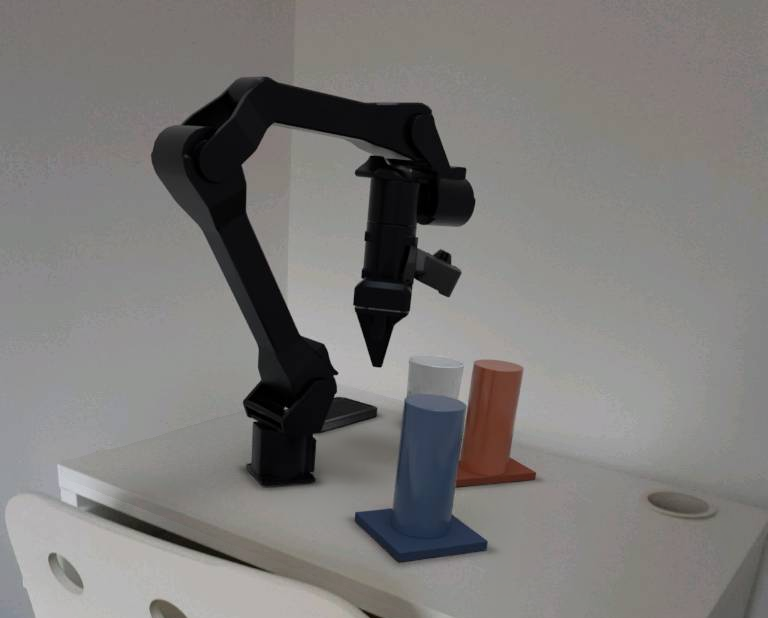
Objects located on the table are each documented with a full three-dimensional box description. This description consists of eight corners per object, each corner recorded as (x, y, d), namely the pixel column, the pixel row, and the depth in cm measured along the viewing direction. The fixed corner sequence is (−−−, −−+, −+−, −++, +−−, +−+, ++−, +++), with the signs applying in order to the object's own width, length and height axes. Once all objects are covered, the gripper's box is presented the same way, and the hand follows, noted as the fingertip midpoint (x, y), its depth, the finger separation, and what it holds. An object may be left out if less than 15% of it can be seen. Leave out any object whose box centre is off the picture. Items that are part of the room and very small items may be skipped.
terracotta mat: (454, 487, 97) (455, 479, 96) (429, 470, 102) (430, 462, 101) (535, 479, 102) (536, 472, 102) (508, 463, 107) (509, 456, 107)
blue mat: (398, 562, 76) (399, 552, 76) (354, 520, 85) (355, 511, 84) (486, 550, 81) (488, 541, 81) (436, 511, 89) (437, 503, 89)
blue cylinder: (408, 541, 79) (423, 412, 74) (380, 517, 83) (393, 394, 79) (460, 535, 81) (478, 410, 77) (430, 511, 86) (446, 393, 81)
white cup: (456, 438, 115) (466, 369, 111) (401, 433, 115) (409, 363, 111) (453, 423, 122) (462, 357, 119) (401, 418, 122) (408, 352, 119)
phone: (380, 407, 122) (315, 425, 110) (379, 415, 122) (314, 433, 111) (339, 396, 126) (272, 411, 114) (339, 403, 126) (272, 419, 115)
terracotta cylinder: (476, 477, 98) (492, 371, 93) (450, 461, 102) (463, 359, 98) (516, 474, 100) (534, 370, 96) (489, 458, 105) (504, 359, 100)
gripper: (466, 236, 84) (447, 384, 89) (459, 226, 101) (443, 350, 107) (359, 225, 84) (347, 373, 89) (370, 217, 101) (359, 341, 107)
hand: (379, 358), depth 98 cm, fingers open, 9 cm apart
